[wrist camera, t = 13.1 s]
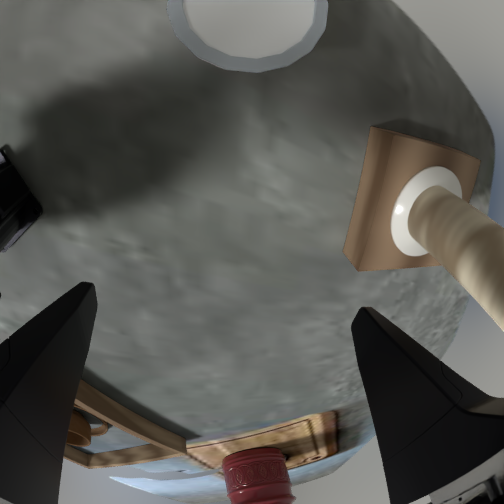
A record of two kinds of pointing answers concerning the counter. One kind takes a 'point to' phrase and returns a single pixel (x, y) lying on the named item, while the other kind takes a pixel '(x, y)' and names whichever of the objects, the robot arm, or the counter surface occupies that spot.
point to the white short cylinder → (248, 31)
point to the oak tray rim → (130, 422)
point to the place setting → (83, 429)
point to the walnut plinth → (400, 197)
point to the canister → (257, 477)
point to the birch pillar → (462, 245)
